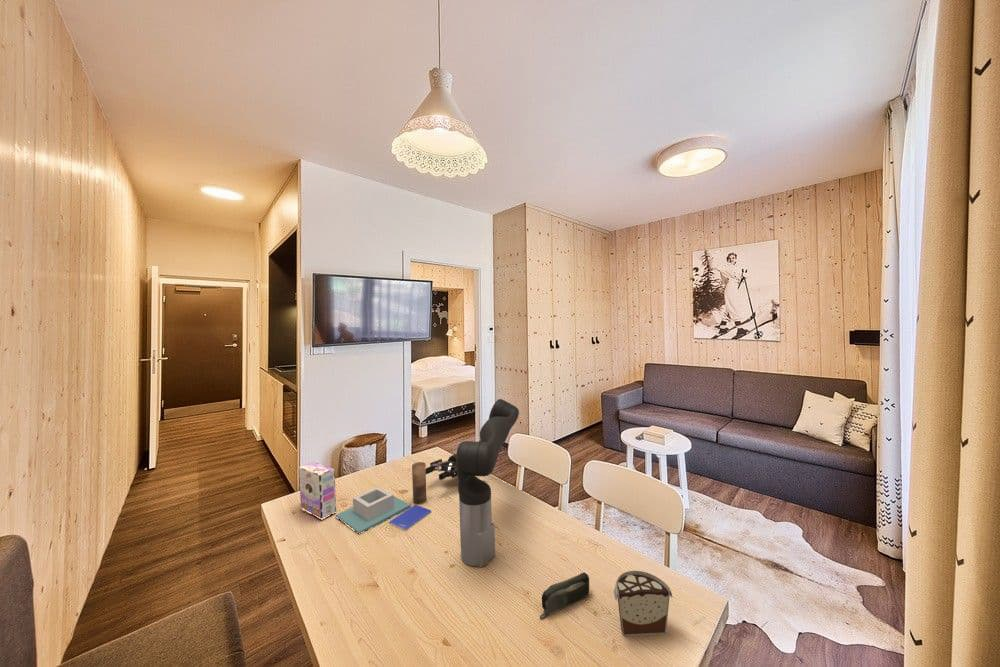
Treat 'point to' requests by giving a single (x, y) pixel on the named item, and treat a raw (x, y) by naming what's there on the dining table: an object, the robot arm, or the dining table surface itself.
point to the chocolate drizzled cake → (642, 603)
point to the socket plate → (372, 509)
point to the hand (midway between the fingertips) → (432, 474)
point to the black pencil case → (565, 593)
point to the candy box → (317, 489)
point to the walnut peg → (419, 482)
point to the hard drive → (410, 517)
